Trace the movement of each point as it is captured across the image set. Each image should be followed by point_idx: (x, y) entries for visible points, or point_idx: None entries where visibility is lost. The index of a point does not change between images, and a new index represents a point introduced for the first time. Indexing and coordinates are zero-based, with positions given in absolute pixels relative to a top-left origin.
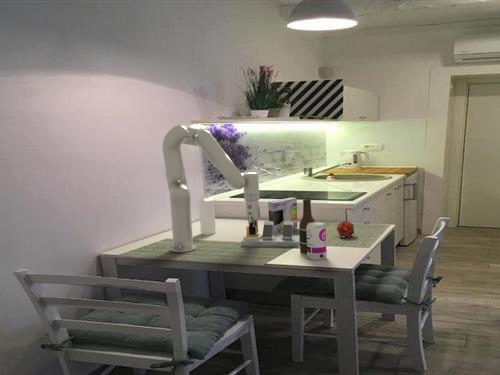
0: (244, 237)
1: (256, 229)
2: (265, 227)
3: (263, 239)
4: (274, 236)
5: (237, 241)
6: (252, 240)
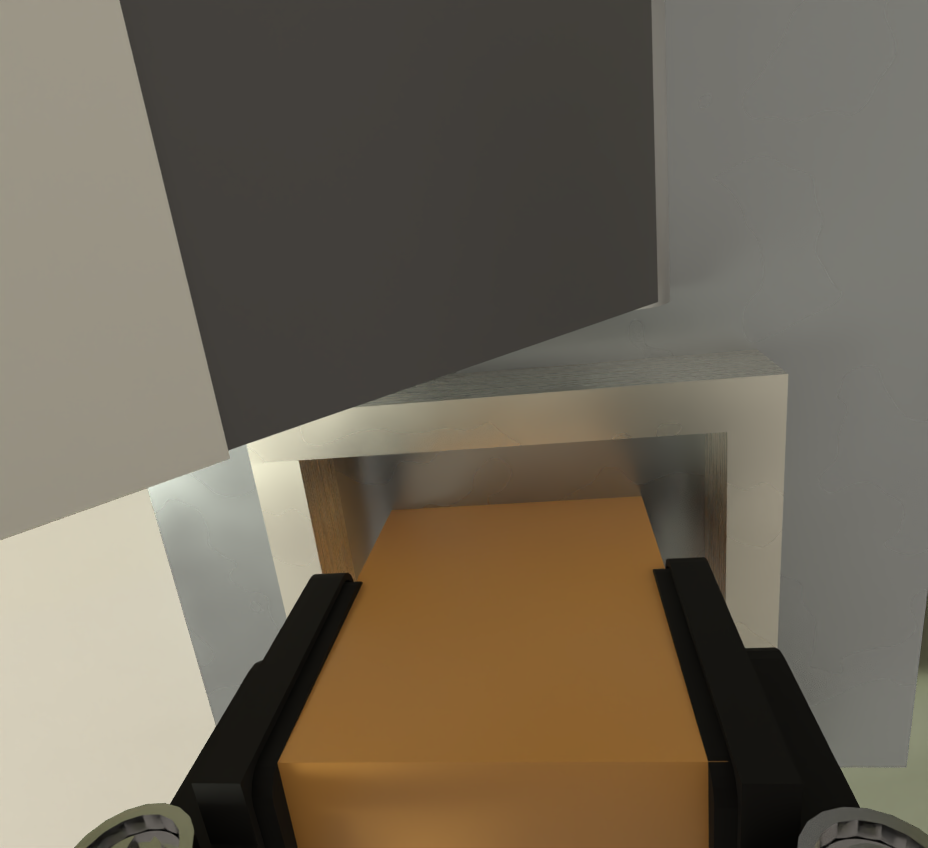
0: None
1: (458, 656)
2: (369, 281)
3: None
4: None
5: None
6: (810, 527)
